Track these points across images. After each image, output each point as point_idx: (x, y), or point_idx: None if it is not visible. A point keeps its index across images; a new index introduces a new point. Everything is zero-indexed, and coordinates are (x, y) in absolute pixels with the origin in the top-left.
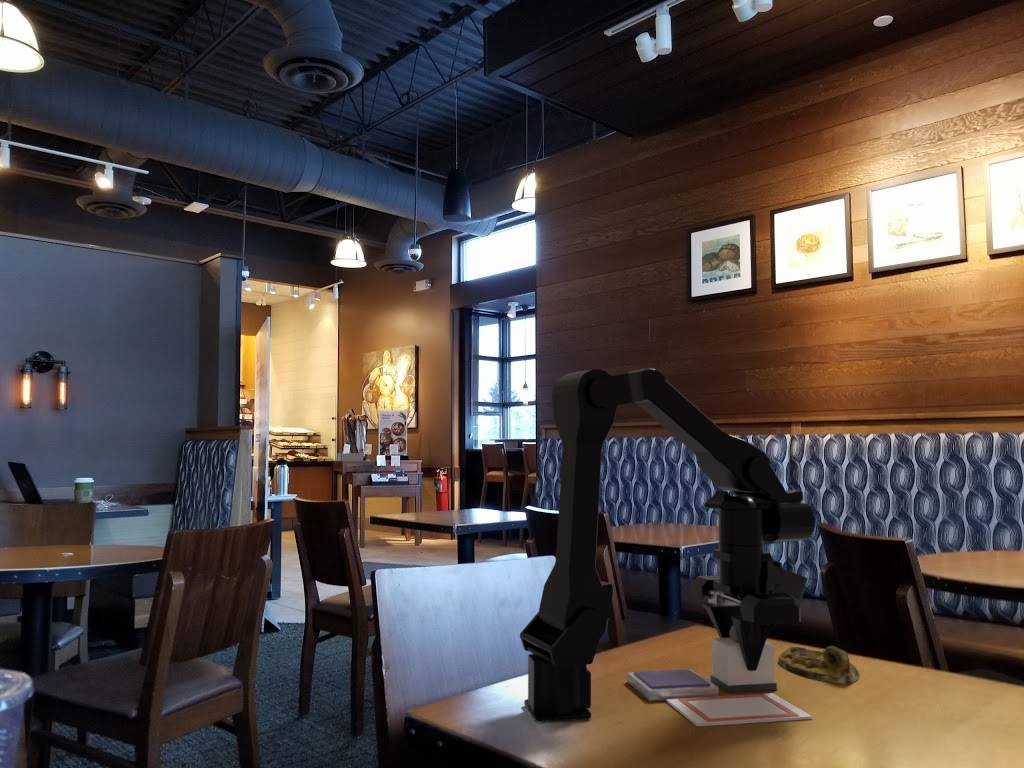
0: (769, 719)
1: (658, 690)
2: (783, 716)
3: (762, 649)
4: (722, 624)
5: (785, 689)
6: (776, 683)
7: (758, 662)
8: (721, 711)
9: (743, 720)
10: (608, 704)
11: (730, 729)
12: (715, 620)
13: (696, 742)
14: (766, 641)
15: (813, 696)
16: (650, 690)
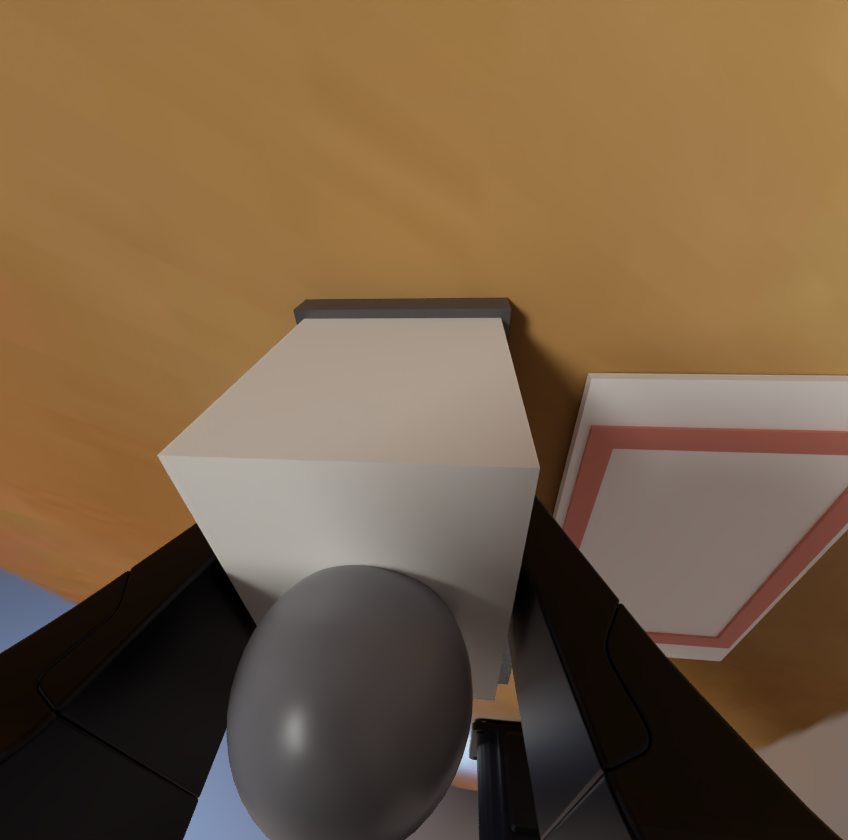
0: (841, 532)
1: (509, 673)
2: None
3: (598, 577)
4: (197, 757)
5: (511, 239)
6: (510, 309)
7: (538, 500)
8: (678, 600)
9: (787, 591)
10: (500, 696)
11: (788, 617)
12: (191, 817)
13: (795, 679)
14: (390, 471)
15: (712, 113)
16: (505, 682)
